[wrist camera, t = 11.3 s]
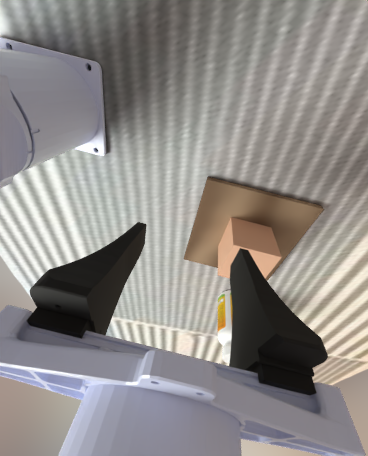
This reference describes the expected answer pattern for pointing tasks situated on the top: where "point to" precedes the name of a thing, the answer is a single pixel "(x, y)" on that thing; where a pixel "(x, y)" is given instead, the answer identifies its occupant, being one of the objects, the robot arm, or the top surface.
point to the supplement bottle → (225, 323)
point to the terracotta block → (248, 246)
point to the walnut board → (246, 218)
